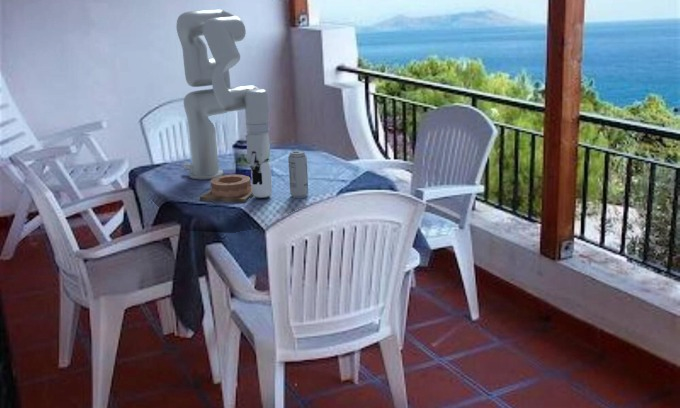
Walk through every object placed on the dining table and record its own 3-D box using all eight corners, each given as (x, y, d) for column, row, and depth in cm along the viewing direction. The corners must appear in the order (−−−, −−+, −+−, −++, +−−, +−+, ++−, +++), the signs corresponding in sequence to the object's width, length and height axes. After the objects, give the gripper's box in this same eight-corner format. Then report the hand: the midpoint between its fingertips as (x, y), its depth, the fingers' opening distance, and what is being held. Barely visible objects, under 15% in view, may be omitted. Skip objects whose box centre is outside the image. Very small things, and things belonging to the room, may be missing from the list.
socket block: (199, 200, 243) (198, 185, 241) (219, 187, 258) (217, 172, 256) (245, 202, 239) (244, 187, 237) (261, 188, 254) (261, 174, 252)
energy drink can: (309, 197, 242) (307, 153, 237) (291, 199, 241) (289, 154, 236) (306, 192, 247) (304, 149, 243) (289, 194, 246) (286, 150, 242)
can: (252, 192, 246) (250, 158, 242) (272, 191, 247) (270, 157, 243) (252, 198, 240) (250, 163, 236) (272, 197, 241) (270, 162, 237)
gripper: (256, 121, 245) (259, 173, 251) (237, 133, 230) (240, 188, 235) (277, 122, 244) (280, 174, 249) (259, 134, 228) (263, 189, 233)
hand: (261, 180), depth 242 cm, fingers closed on can, 5 cm apart
